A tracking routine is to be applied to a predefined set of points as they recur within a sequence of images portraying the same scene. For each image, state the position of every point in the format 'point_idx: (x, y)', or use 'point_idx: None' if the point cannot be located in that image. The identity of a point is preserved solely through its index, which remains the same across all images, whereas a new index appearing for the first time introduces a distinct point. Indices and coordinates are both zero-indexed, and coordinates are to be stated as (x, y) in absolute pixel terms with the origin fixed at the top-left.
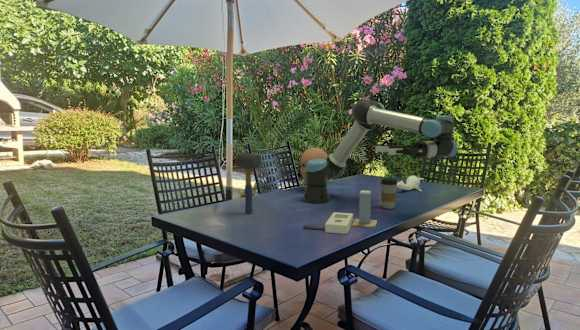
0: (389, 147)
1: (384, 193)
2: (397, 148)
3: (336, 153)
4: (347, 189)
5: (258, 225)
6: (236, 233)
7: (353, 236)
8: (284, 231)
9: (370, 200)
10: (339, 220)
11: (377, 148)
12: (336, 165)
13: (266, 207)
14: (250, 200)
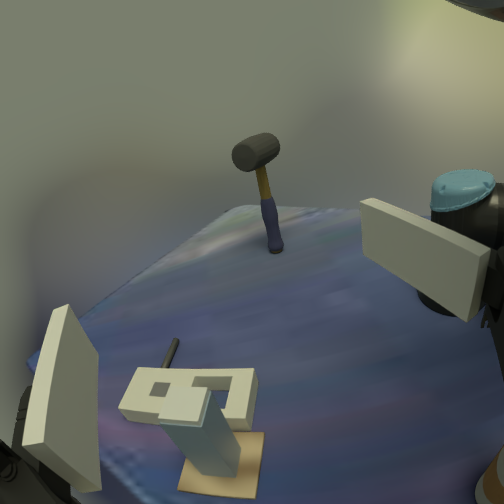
0: (502, 275)
1: (496, 458)
2: (37, 377)
3: None
4: None
5: (198, 284)
6: (157, 279)
7: (111, 432)
8: (160, 322)
9: (196, 441)
10: (161, 391)
11: (370, 226)
12: None
13: (331, 252)
14: (268, 229)
